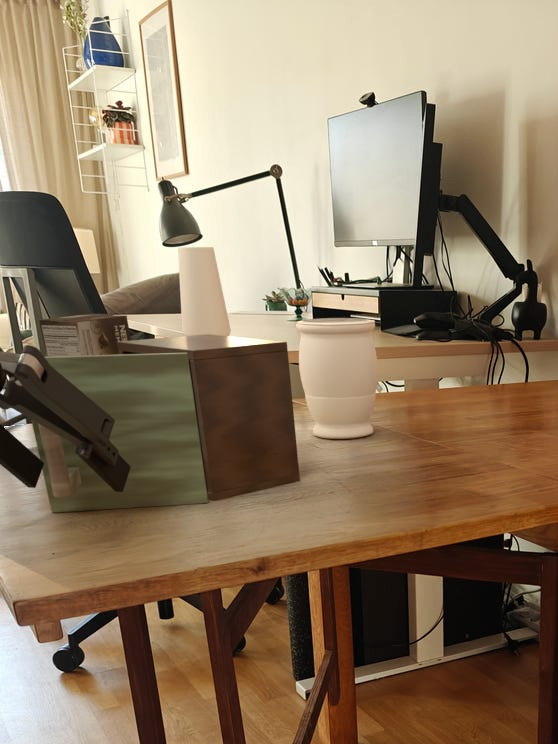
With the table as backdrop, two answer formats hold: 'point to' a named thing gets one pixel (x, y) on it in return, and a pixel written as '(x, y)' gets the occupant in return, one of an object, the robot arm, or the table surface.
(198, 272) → the white tapered column
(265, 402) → the cupboard
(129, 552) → the table surface
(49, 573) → the table surface
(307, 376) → the jar
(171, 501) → the cupboard door
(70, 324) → the coffee box
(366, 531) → the table surface
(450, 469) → the table surface
